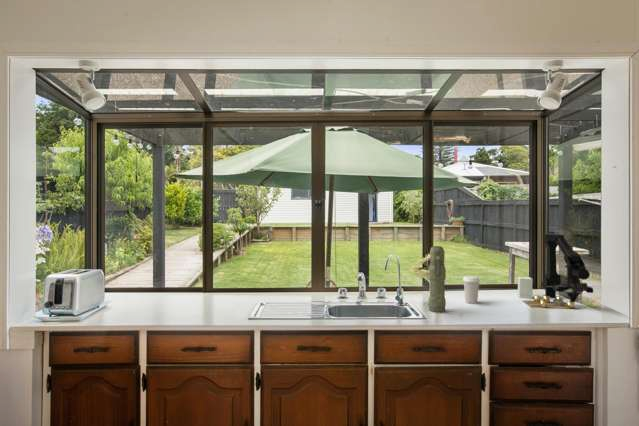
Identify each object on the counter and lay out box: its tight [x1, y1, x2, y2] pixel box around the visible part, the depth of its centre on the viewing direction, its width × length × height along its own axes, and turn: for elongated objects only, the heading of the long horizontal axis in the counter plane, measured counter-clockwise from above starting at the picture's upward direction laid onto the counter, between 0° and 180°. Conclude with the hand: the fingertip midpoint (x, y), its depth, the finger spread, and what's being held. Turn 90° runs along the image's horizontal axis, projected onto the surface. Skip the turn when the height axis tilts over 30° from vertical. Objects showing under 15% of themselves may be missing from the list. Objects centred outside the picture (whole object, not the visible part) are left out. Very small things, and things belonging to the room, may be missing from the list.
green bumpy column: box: [428, 245, 447, 313], centre depth 220 cm, size 9×12×35 cm
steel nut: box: [552, 298, 565, 306], centre depth 229 cm, size 5×5×3 cm
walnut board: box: [522, 300, 579, 310], centre depth 230 cm, size 17×24×1 cm
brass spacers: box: [533, 294, 575, 310], centre depth 230 cm, size 16×17×4 cm
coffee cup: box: [462, 275, 481, 305], centre depth 238 cm, size 10×10×15 cm
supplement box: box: [517, 276, 534, 300], centre depth 250 cm, size 7×7×13 cm
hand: (572, 303), depth 228 cm, fingers closed
